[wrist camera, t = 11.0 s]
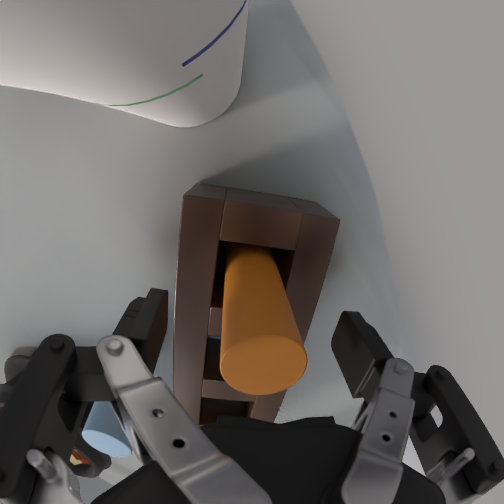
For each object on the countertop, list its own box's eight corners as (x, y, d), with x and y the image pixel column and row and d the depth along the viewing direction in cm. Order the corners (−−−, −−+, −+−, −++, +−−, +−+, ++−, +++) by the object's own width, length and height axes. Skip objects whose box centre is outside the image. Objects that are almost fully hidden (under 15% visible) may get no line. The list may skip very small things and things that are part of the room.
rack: (180, 396, 26) (174, 433, 21) (195, 182, 19) (183, 194, 14) (261, 404, 27) (265, 441, 22) (316, 202, 20) (340, 219, 15)
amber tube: (224, 268, 21) (216, 392, 10) (229, 227, 20) (225, 329, 9) (265, 273, 22) (294, 396, 10) (274, 233, 20) (318, 337, 9)
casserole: (58, 312, 22) (14, 367, 14) (175, 424, 28) (167, 482, 20) (-8, 370, 25) (-32, 404, 18) (73, 445, 32) (60, 481, 24)
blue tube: (131, 342, 23) (88, 449, 12) (129, 314, 22) (75, 423, 11) (164, 348, 24) (134, 462, 13) (164, 320, 23) (127, 439, 11)
